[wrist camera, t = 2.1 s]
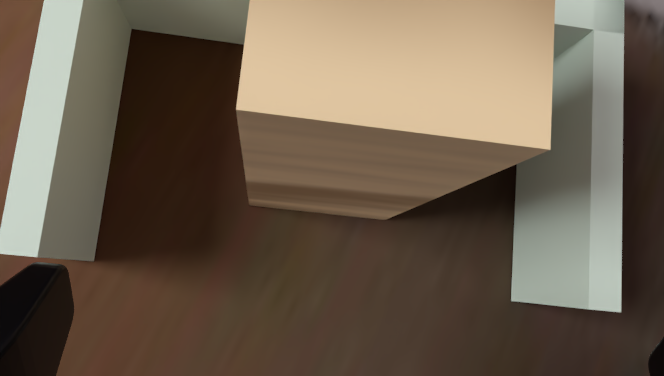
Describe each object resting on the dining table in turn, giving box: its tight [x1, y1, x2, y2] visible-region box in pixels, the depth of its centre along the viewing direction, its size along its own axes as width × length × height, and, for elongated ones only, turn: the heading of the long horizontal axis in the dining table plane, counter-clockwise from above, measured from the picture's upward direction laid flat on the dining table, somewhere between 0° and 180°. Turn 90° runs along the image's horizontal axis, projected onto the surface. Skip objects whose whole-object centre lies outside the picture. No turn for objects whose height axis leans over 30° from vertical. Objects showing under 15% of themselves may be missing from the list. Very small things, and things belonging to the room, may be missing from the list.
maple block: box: [236, 0, 555, 220], centre depth 15 cm, size 5×5×12 cm
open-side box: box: [0, 0, 624, 312], centre depth 18 cm, size 10×17×5 cm, turn 85°
